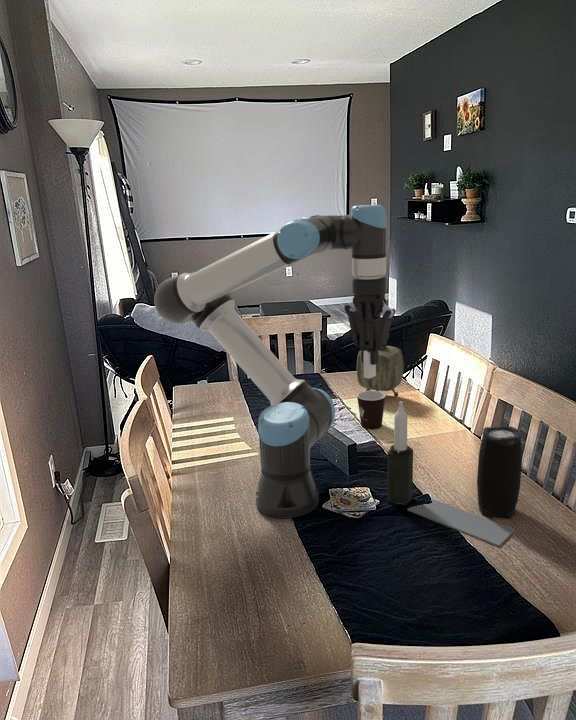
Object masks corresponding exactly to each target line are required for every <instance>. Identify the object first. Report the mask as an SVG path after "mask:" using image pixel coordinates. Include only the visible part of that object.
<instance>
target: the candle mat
mask: <svg viewBox="0 0 576 720" xmlns="http://www.w3.org/2000/svg"><path fill="white" fill-rule="evenodd" d="M431 501H432V503H430V504H423V505H422V504H421V505H417V506H413V507H411V506H409V507H410V508H409V507H408V508H407V511H408V512H410V513H413V514H415V515H418V516H420V517H422V518H426V519H428V520H431V521H433V522H435V523H438V524H441V525H443V526H445V527H447V528H451V529H453V530H455V531H458V532H460V533H463V534H465V535H468V536H470V537H472V538H476V539H478V540H481V541H483V542H485V543H488V544H491V545H493V546H496V547H498V548H500V546H501V545H503V544H504V543H505V542H506V541H507V540H508V538H510V537H511V536H512V535H513V534H514V533H515V532H516V529H514V528H512V527H509V526H507V525H504V524H502V523H500V522H499V523H498V522H495V521H494V520H490V519H488V518H484V517H482V516H480V515H477V514H474V513H472V512H469V511H466V510H463V509H461V508H458V507H455V506H453V505H450V504H448V503H444V502H441V501H439V500H436V499H434V498H431Z"/></svg>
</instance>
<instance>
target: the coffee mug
mask: <svg viewBox="0 0 576 720" xmlns="http://www.w3.org/2000/svg"><path fill="white" fill-rule="evenodd" d="M356 398H357V405H358V412H359V420H360V425H361V426H362V427H363V429H365V428H366V429H365V430H369V429H370V430H373V431H374V430H378V429H381V428H382V424H383V419H384V408H385V404H386V403H385V401H386V394H385V393H384V392H383V391H382V392H381V391H376V390H371V391H366V390H364V391H363V390H362V391H360V392H358V393H357V394H356ZM362 427H361V428H362Z"/></svg>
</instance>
